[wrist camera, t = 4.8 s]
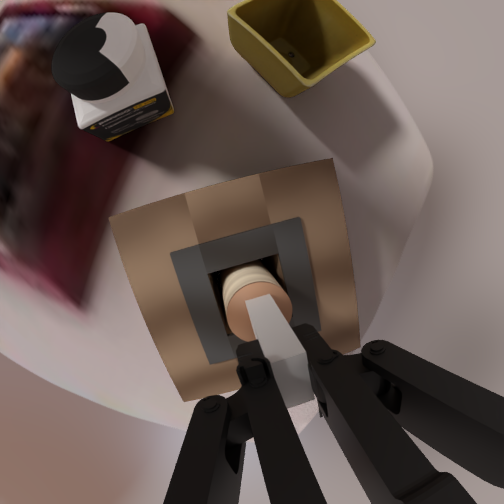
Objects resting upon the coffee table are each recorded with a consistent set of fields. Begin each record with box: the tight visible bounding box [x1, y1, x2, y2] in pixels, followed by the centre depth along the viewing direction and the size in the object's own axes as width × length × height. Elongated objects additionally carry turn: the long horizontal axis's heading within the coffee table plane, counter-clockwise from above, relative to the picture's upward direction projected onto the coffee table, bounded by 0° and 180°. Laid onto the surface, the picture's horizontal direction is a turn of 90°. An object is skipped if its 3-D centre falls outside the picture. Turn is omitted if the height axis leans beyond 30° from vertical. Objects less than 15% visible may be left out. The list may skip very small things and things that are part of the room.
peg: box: [220, 259, 292, 342], centre depth 21 cm, size 4×4×8 cm
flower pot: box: [227, 0, 376, 97], centre depth 20 cm, size 9×9×9 cm
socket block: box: [109, 158, 360, 402], centre depth 24 cm, size 16×16×8 cm
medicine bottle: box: [52, 13, 174, 141], centre depth 17 cm, size 7×7×12 cm
